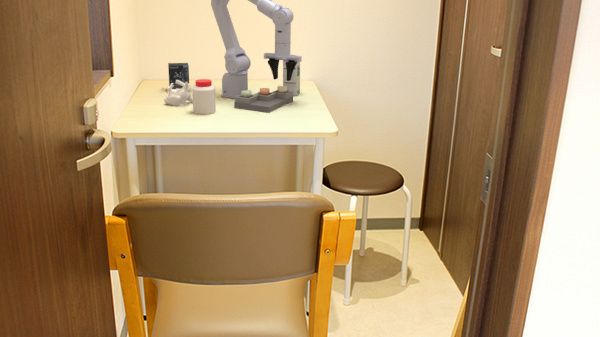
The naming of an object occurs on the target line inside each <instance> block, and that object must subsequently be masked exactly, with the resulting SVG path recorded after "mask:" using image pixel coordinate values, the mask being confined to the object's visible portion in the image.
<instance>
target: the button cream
mask: <svg viewBox="0 0 600 337" xmlns="http://www.w3.org/2000/svg"><path fill="white" fill-rule="evenodd" d="M276 90H277V92H278V93H287V87H286V86H283V85H277V89H276Z"/></svg>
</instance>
